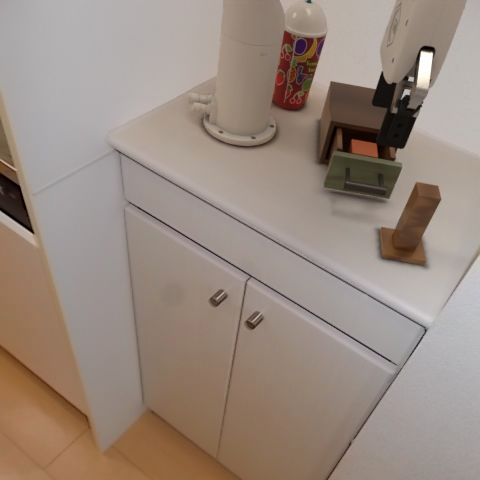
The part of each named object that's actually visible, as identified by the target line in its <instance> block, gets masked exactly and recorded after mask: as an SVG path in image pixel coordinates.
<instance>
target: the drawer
mask: <svg viewBox="0 0 480 480" xmlns="http://www.w3.org/2000/svg"><path fill="white" fill-rule="evenodd" d="M377 136H378V134H377V133H372V132H366V131H361V130H355V129H349V128H344V127H338V126H334V129H333V133H332V136H331V140H330V143H329V164H328V167H327V170H326V174H325V177H324V179H323V188H326V189H331V190H335V191H342V192H348V193H352V194H358V195H362V196H363V195H364V196H369V197H375V198H381V199H387V200H390V198H391V197H392V193H393V191H394V188H395V186H396V184H397V181H398V179H399V176H400V174H401V172H402V170H403V163H402V162H399V161H396V160H397V156H396V154H395V149H394V148H393V147H387V146H381V145H378V144H377V142H376V139H377ZM352 139H354V140H360V141H366V142H371V143H376V144H377V152H378V158H373V157H367V156H361V155H356V154H350V153H347V152H348V149H349V146H350V143H351V140H352Z"/></svg>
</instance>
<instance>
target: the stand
mask: <svg viewBox="0 0 480 480" xmlns="http://www.w3.org/2000/svg"><path fill="white" fill-rule="evenodd" d="M441 201H442V195H441V191H440V187H439V185H437V184H430V183H425V182H419V181H416V182H415V184H414V186H413V188H412V190H411V192H410V195H409V197H408V199H407V201H406V204H405V205H404V208H403V210H402V212H401V214H400V217H399V219H398V221H397V223H396V225H395V228H391V227H384V226H380V229H379V238H380V239H379V240H380V250H381V251H380V252H381V257H382V259H385V260H391V261H397V262H403V263H408V264H409V263H410V264H415V265H420V266H425V264H426V262H427V260H426V254H425V249H424V244H423V243H424V242H423V236H424V234H425V232H426V230H427V228H428V227H429V224H430V222H431V220H432V218H433V217H434V215H435V213H436V211H437V209H438V208H439V206H440V203H441Z"/></svg>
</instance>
